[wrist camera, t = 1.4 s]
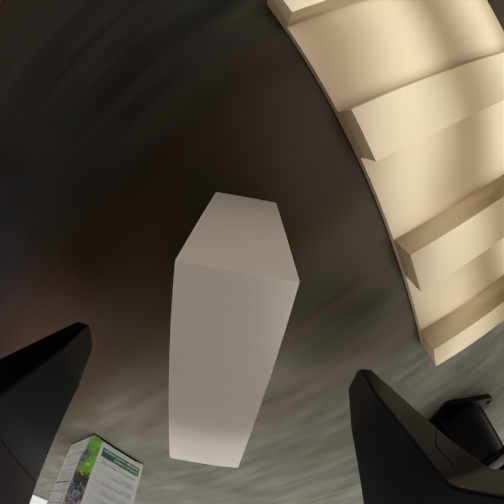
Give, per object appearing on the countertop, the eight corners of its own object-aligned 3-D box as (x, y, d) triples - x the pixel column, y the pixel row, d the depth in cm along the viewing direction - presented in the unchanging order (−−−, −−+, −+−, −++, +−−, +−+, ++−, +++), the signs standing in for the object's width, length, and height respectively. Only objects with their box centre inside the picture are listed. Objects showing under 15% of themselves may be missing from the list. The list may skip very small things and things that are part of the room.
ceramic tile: (275, 202, 13) (299, 282, 6) (242, 351, 16) (237, 467, 9) (216, 191, 12) (175, 260, 6) (195, 343, 15) (170, 457, 9)
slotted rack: (457, -36, 7) (478, -48, 5) (546, 250, 13) (566, 263, 11) (267, 4, 9) (269, -18, 7) (420, 342, 15) (435, 366, 13)
